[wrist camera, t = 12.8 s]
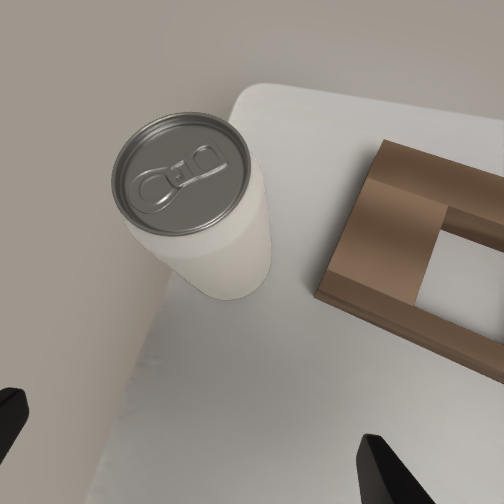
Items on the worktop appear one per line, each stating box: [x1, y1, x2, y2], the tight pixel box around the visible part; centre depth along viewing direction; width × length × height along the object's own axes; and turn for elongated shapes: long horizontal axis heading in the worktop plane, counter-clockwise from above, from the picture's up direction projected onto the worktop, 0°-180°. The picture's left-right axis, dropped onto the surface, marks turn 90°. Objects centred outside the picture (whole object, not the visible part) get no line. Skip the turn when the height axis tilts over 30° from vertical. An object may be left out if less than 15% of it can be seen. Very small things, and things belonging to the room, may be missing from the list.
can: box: [111, 112, 271, 300], centre depth 18 cm, size 6×6×12 cm
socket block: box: [314, 139, 504, 384], centre depth 20 cm, size 12×18×3 cm, turn 64°
